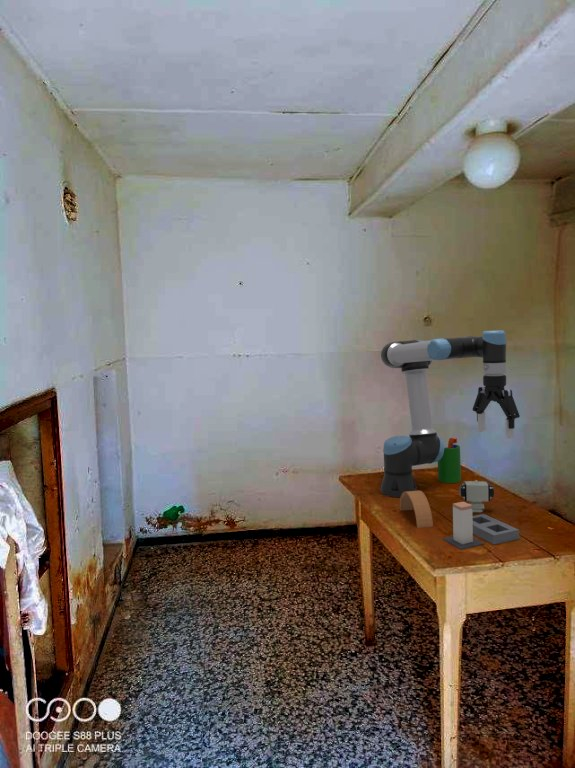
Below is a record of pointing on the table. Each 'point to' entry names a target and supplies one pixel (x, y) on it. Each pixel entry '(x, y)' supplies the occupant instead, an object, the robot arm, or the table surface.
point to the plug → (462, 522)
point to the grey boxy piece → (493, 530)
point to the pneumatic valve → (476, 493)
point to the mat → (463, 546)
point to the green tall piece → (450, 463)
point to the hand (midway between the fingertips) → (495, 434)
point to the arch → (417, 507)
